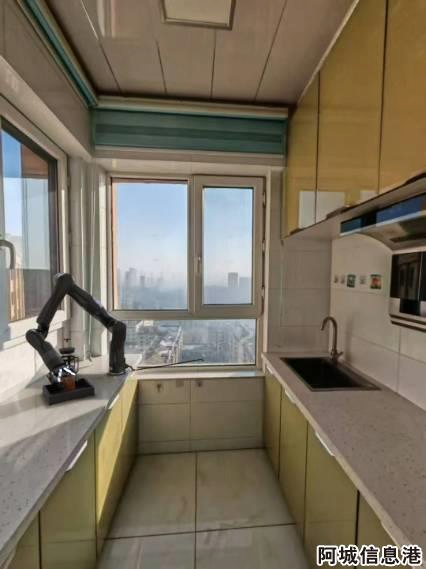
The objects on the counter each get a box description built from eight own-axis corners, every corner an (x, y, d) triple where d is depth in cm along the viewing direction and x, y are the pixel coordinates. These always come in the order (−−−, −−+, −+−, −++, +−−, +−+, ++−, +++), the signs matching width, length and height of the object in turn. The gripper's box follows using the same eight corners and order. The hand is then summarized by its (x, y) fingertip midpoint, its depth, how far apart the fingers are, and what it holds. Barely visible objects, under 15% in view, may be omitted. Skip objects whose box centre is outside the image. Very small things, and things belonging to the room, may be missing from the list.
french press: (53, 380, 162) (54, 340, 162) (59, 375, 171) (59, 337, 171) (76, 379, 165) (76, 340, 164) (80, 374, 174) (80, 336, 173)
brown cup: (73, 390, 146) (73, 373, 146) (76, 394, 141) (76, 376, 141) (60, 393, 142) (60, 375, 142) (63, 397, 138) (63, 379, 137)
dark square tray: (84, 386, 155) (84, 377, 155) (94, 396, 142) (94, 386, 142) (42, 395, 142) (42, 385, 142) (48, 407, 129) (48, 396, 129)
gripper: (44, 359, 137) (62, 386, 134) (68, 352, 151) (85, 376, 147) (36, 369, 139) (53, 395, 135) (60, 361, 152) (76, 385, 149)
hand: (70, 385), depth 141 cm, fingers open, 8 cm apart
